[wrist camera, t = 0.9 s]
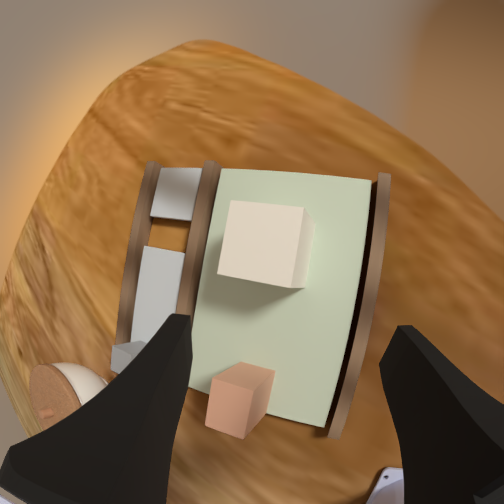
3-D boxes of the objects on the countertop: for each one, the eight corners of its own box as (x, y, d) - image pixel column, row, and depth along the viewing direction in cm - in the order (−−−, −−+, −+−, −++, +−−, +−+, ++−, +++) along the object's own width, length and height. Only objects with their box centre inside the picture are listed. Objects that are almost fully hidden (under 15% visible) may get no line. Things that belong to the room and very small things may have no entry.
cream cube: (305, 287, 23) (290, 288, 18) (244, 276, 25) (217, 273, 20) (315, 223, 23) (303, 207, 19) (255, 216, 25) (230, 200, 20)
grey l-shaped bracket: (171, 375, 27) (140, 388, 23) (133, 359, 29) (101, 367, 24) (189, 254, 28) (158, 247, 23) (149, 246, 29) (116, 240, 25)
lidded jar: (104, 445, 30) (52, 468, 21) (65, 378, 33) (11, 388, 25) (146, 418, 28) (84, 447, 19) (98, 340, 31) (33, 348, 23)
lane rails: (341, 430, 21) (339, 439, 20) (125, 358, 30) (114, 361, 28) (389, 181, 23) (391, 174, 21) (157, 167, 31) (147, 161, 29)
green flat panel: (325, 423, 22) (313, 459, 16) (188, 382, 26) (149, 401, 21) (371, 183, 23) (373, 153, 17) (225, 171, 27) (192, 145, 22)
